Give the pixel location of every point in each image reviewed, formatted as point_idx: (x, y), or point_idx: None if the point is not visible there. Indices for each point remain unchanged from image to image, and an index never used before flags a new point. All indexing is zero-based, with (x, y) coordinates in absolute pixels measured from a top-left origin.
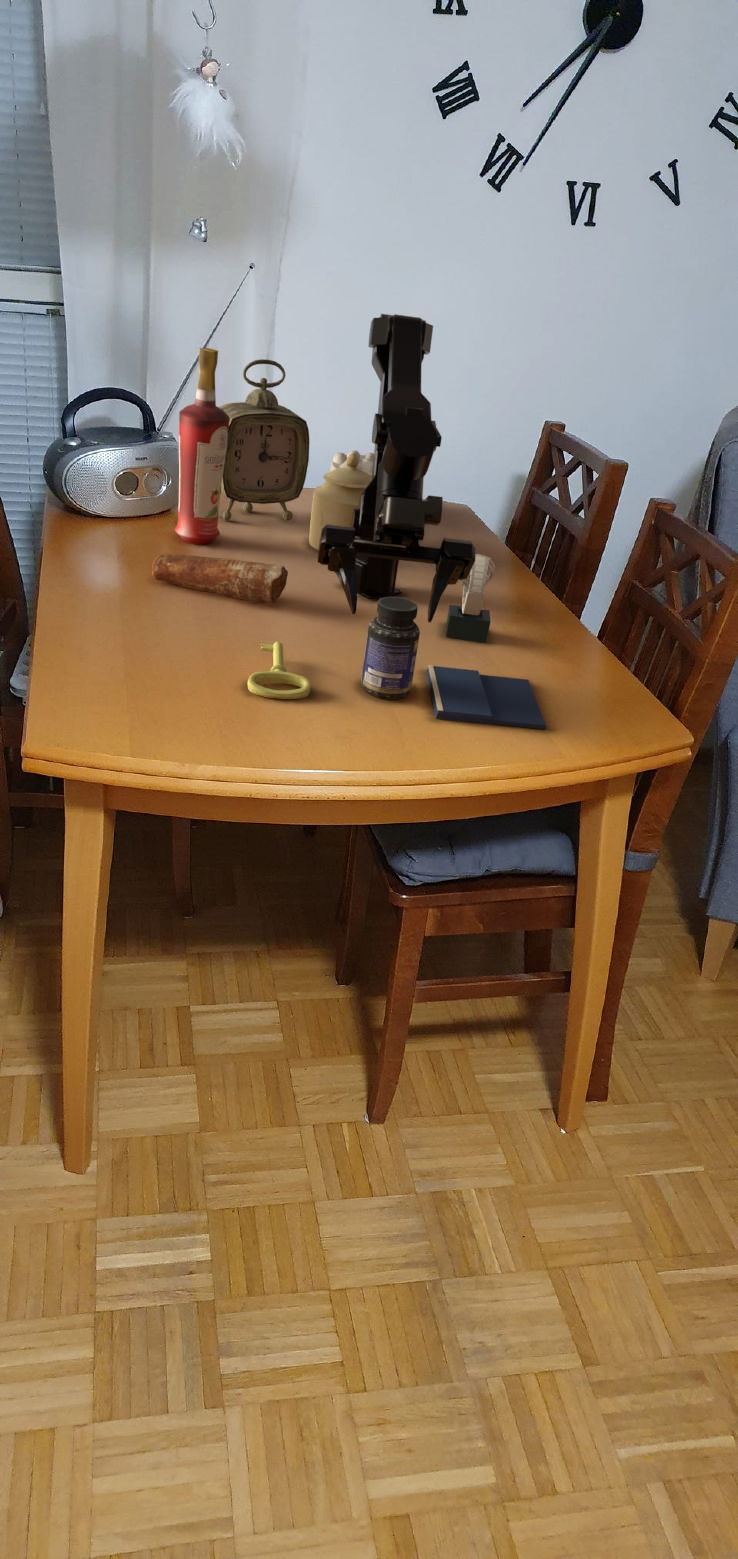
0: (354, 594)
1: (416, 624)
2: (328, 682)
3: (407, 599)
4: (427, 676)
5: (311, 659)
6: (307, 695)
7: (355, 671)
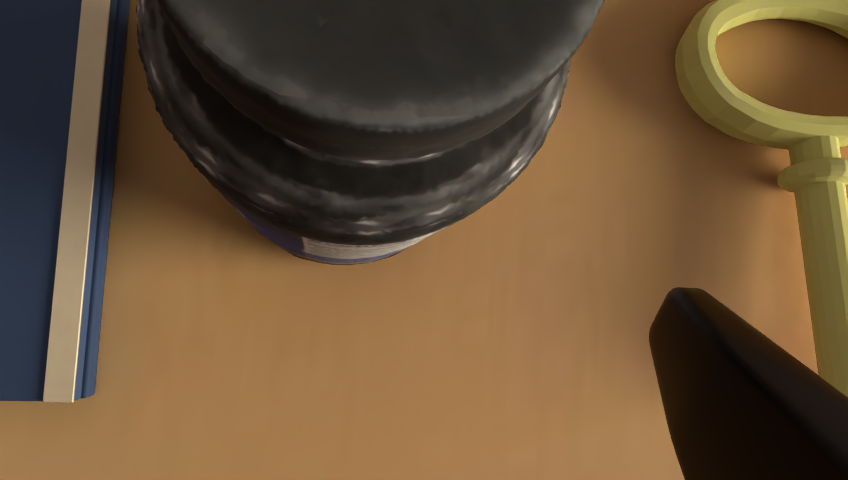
0: (781, 382)
1: (156, 22)
2: (592, 192)
3: (234, 59)
4: (97, 325)
5: (660, 432)
6: (681, 38)
7: (466, 339)
